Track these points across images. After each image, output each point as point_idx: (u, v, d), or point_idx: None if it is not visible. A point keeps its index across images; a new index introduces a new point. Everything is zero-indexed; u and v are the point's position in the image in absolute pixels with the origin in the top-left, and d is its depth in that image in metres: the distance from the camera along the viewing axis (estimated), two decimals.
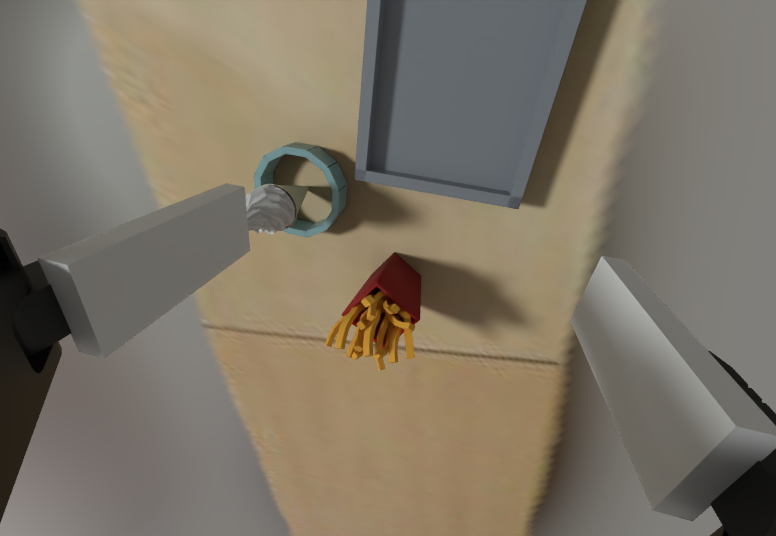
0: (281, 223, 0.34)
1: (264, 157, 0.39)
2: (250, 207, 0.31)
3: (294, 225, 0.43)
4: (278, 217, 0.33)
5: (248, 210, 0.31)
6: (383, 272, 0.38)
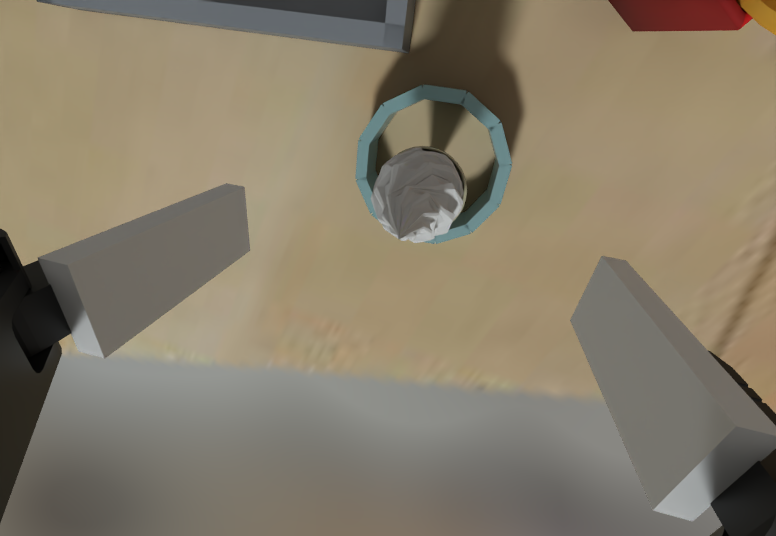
0: (434, 168, 0.16)
1: (373, 214, 0.26)
2: (383, 214, 0.16)
3: (490, 190, 0.24)
4: None
5: (387, 218, 0.16)
6: None
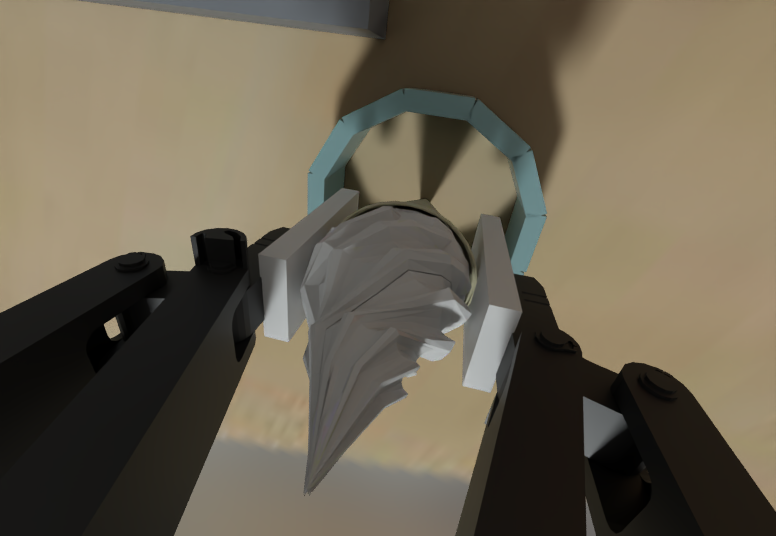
0: (412, 259, 0.08)
1: None
2: (306, 358, 0.08)
3: (509, 248, 0.16)
4: (380, 263, 0.08)
5: None
6: None
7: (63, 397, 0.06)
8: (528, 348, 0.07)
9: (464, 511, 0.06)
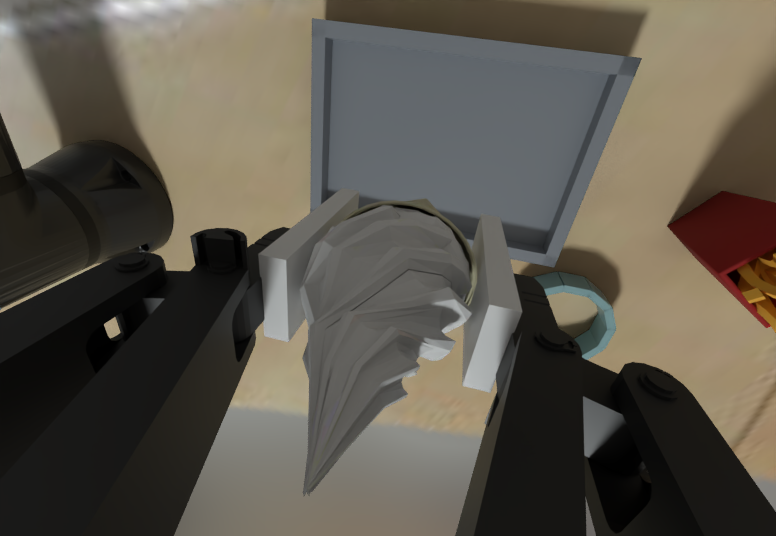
0: (412, 258, 0.08)
1: None
2: (305, 358, 0.08)
3: (596, 337, 0.38)
4: (380, 263, 0.08)
5: None
6: (701, 255, 0.27)
7: (63, 397, 0.06)
8: (528, 348, 0.07)
9: (464, 511, 0.06)
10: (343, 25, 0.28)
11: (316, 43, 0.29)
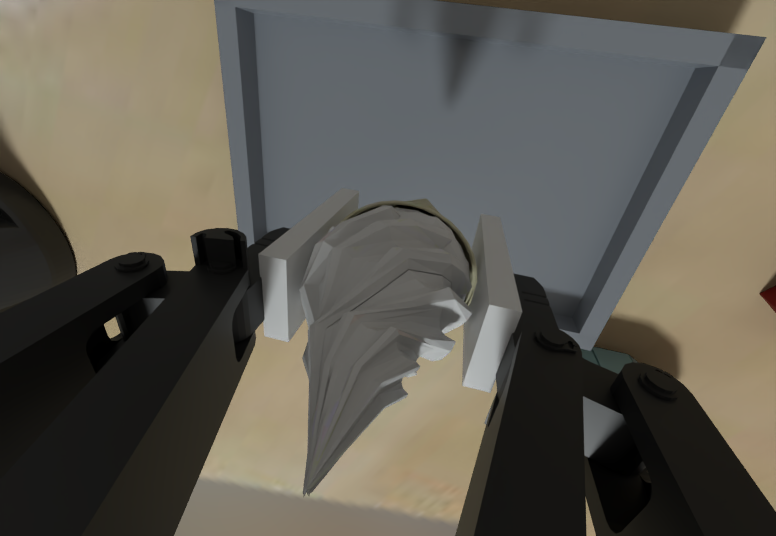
0: (412, 258, 0.08)
1: None
2: (305, 358, 0.08)
3: None
4: (380, 263, 0.08)
5: None
6: None
7: (63, 397, 0.06)
8: (528, 348, 0.07)
9: (464, 511, 0.06)
10: None
11: (223, 17, 0.18)
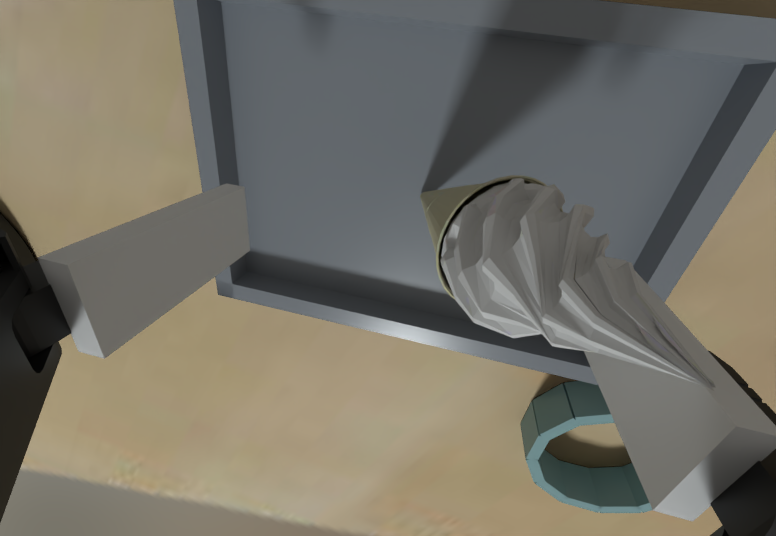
0: (585, 213, 0.09)
1: (537, 483, 0.26)
2: (549, 315, 0.08)
3: None
4: (569, 219, 0.09)
5: (564, 323, 0.08)
6: None
7: None
8: None
9: None
10: None
11: (182, 5, 0.16)
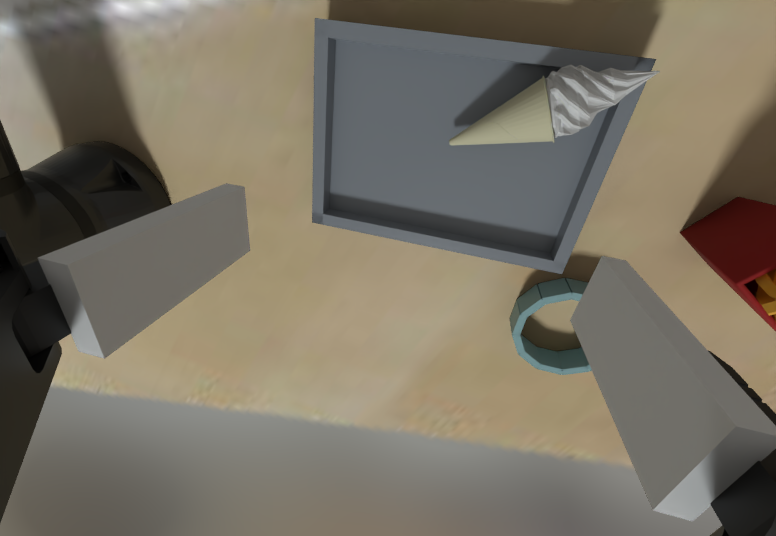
0: None
1: (520, 354, 0.38)
2: (614, 76, 0.23)
3: None
4: None
5: (618, 78, 0.23)
6: (716, 264, 0.26)
7: None
8: None
9: None
10: (346, 25, 0.27)
11: (319, 43, 0.28)
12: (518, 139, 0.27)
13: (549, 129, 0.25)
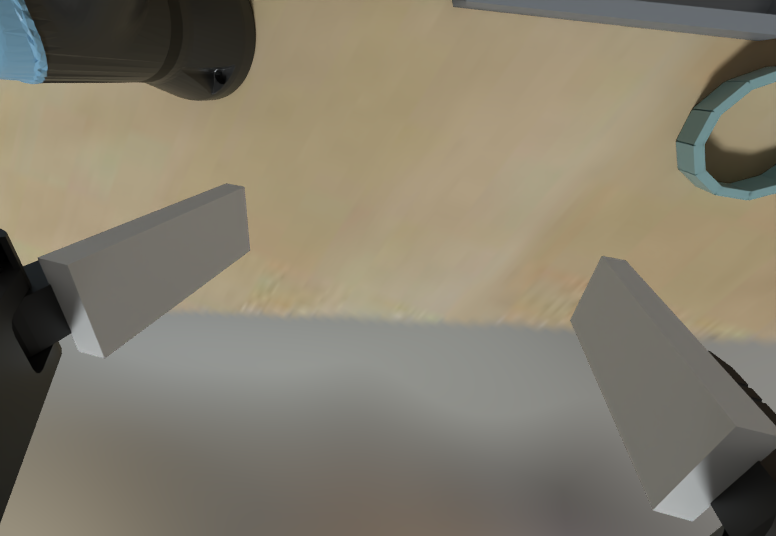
0: None
1: (697, 175, 0.31)
2: None
3: None
4: None
5: None
6: None
7: None
8: None
9: None
10: None
11: None
12: None
13: None
